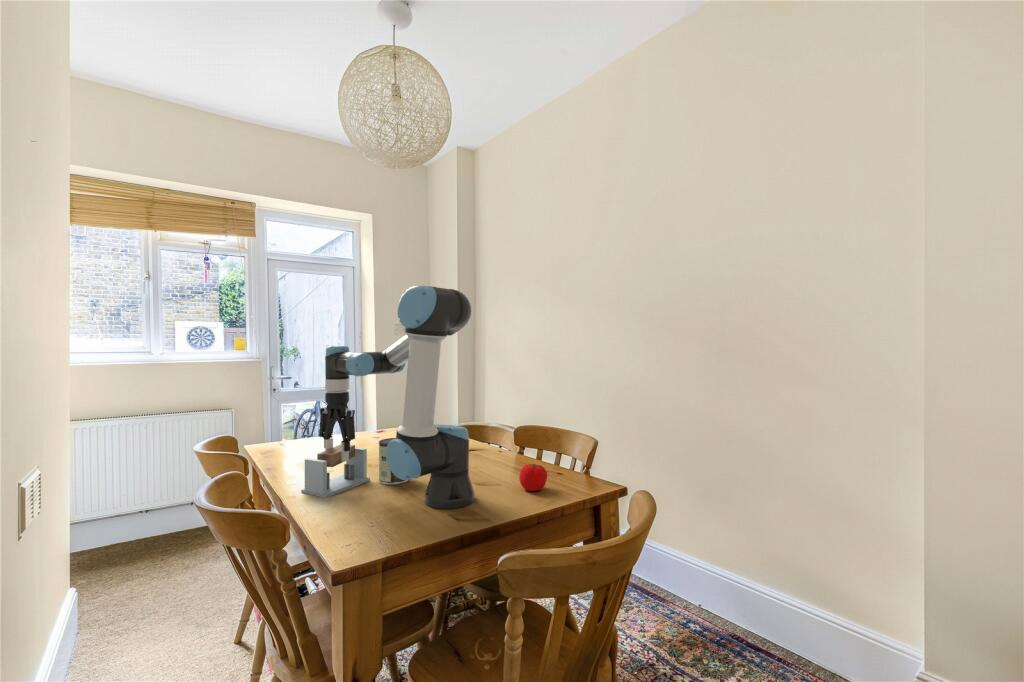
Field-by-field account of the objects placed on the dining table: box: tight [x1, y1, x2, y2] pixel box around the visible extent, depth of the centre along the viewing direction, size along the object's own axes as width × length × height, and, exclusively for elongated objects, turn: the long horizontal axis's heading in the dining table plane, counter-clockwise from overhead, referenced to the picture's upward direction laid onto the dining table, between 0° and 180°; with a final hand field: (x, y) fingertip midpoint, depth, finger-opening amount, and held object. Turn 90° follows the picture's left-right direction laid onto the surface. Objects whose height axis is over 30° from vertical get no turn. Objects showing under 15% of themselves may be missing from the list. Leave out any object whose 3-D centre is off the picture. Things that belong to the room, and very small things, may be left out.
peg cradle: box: [300, 446, 371, 498], centre depth 156 cm, size 11×20×11 cm, turn 155°
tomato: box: [518, 463, 548, 492], centre depth 154 cm, size 9×10×8 cm
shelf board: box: [316, 443, 356, 468], centre depth 156 cm, size 6×14×4 cm, turn 170°
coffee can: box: [378, 437, 409, 486], centre depth 163 cm, size 10×10×14 cm
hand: (336, 459), depth 156 cm, fingers closed on shelf board, 6 cm apart
